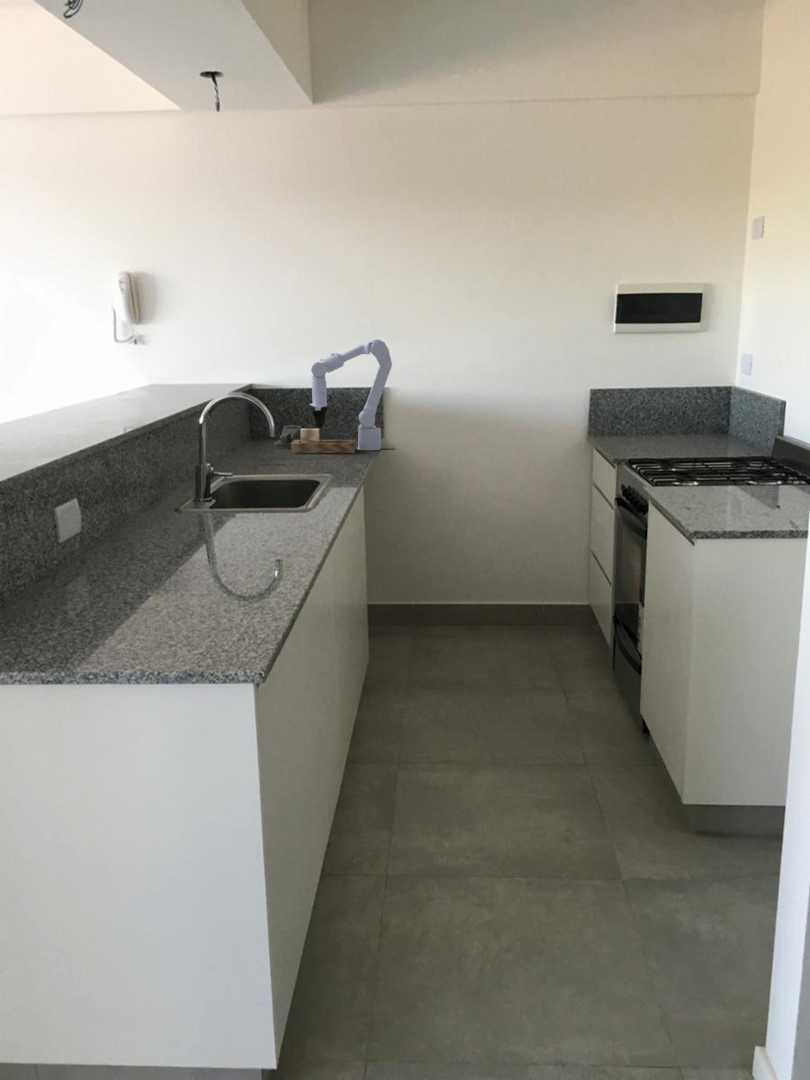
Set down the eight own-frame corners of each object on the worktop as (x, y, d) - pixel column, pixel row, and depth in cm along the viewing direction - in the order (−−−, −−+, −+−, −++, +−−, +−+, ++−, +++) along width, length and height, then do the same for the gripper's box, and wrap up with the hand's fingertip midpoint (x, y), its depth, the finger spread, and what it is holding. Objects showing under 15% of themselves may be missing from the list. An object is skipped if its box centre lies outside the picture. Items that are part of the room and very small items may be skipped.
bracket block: (319, 448, 368) (319, 428, 366) (318, 449, 364) (317, 429, 362) (302, 448, 368) (301, 428, 366) (300, 449, 364) (300, 429, 362)
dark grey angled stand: (303, 425, 397) (294, 432, 373) (303, 440, 399) (294, 448, 375) (282, 425, 398) (272, 432, 373) (283, 440, 399) (273, 448, 375)
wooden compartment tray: (355, 449, 371) (355, 440, 370) (354, 453, 361) (353, 443, 360) (294, 449, 371) (294, 439, 370) (291, 453, 362) (290, 443, 361)
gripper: (311, 391, 372) (312, 424, 376) (307, 394, 358) (308, 428, 362) (328, 391, 372) (329, 424, 376) (325, 394, 358) (326, 428, 362)
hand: (320, 426), depth 369 cm, fingers open, 7 cm apart
